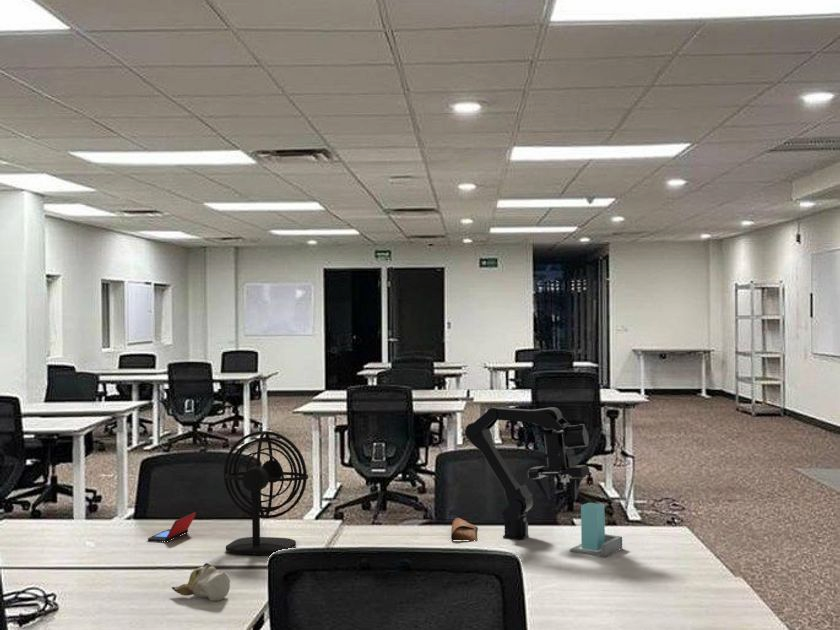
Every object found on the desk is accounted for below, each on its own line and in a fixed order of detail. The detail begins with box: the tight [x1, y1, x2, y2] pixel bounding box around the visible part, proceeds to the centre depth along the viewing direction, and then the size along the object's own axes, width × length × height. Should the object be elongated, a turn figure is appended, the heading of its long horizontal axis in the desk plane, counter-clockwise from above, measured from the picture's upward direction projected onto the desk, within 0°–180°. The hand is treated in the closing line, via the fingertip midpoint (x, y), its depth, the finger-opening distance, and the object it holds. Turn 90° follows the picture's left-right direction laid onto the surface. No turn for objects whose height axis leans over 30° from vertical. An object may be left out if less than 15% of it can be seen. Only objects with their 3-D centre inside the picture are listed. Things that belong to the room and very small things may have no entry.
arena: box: [569, 533, 623, 558], centre depth 251 cm, size 11×11×4 cm
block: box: [580, 502, 606, 551], centre depth 251 cm, size 5×5×12 cm
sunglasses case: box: [450, 517, 478, 542], centre depth 271 cm, size 18×7×7 cm
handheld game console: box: [147, 511, 197, 543], centre depth 273 cm, size 12×11×7 cm
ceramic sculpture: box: [171, 562, 231, 602], centre depth 214 cm, size 11×9×15 cm
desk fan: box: [223, 430, 309, 556], centre depth 258 cm, size 27×18×35 cm, turn 78°
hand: (561, 499), depth 260 cm, fingers open, 9 cm apart
